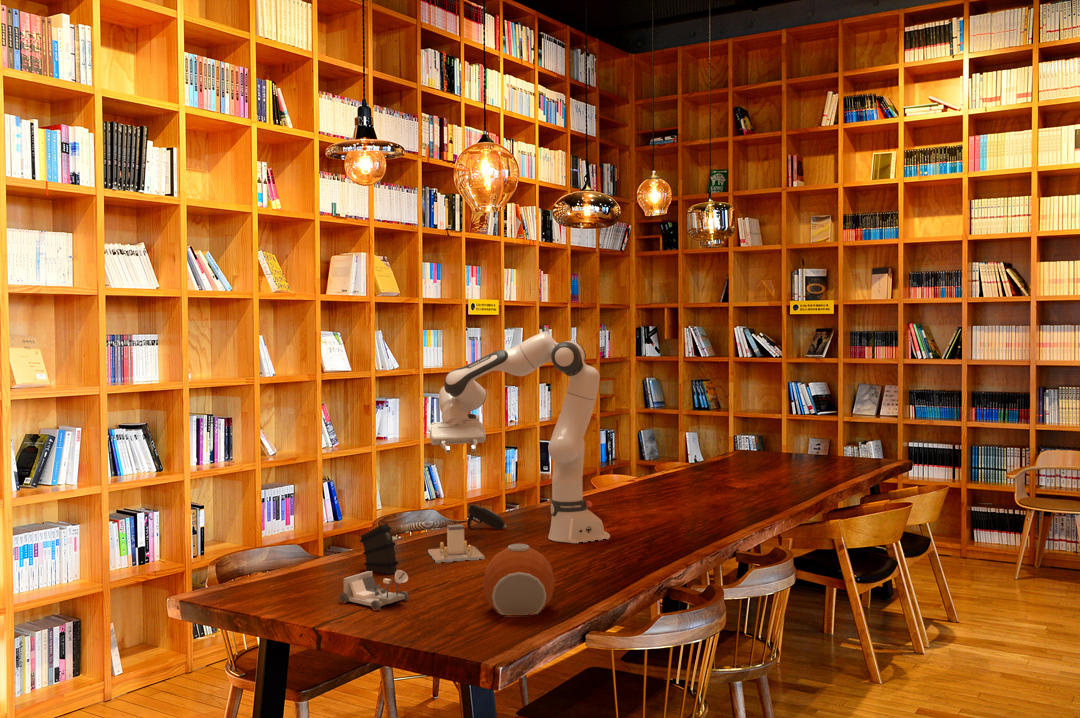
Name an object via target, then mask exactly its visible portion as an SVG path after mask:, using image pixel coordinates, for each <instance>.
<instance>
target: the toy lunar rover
mask: <svg viewBox="0 0 1080 718" xmlns="http://www.w3.org/2000/svg"><path fill="white" fill-rule="evenodd" d="M408 580H409V576H408V574H407V572H405V571H404V570H401V569H396V573H394V581H395V584H396V585H395V586H396V587H395V589H396V592H389V584H392V583H393V580H392V579H391V578H383V579H382V582H383V584H386V588H381V585H380V584H376V581H375V579H374V576H373V571H369V570H366V571H364V572H361V573H358V574H354V575H350V576H347V577H343V593H340V594H339V597H338V598H339V602H340V601H342V602H348V603H349V602H351V603H355V604H361V605H364V606H369V607H370V608H373V609H377V610H379V609H380V610H381V607H382V606H385V605H389V604H393V603H395V602H399V601H401V600H405V601H404V602H408V601H407V600H409V598H410V597H409V594H408V592H407V591H406V590H402V591H400V592H399V587H398V586H399V585H398V584H403V583H406V582H408ZM380 610H379V611H380Z"/></svg>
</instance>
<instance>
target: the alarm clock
mask: <svg viewBox="0 0 1080 718" xmlns="http://www.w3.org/2000/svg"><path fill="white" fill-rule="evenodd" d="M553 571H554V570H553V568H552V565H551V564H550V562H549V561H548V560H547V558H546V557H545V556H544V555H543V554H542V553H540V552H539V551H538V550H536V549H534V548H532V547H530V546H529V545H528V544H526V543H512V544H509V545H508V546H507V547H505V548H504V549H502V550H501V551H500V552H498V553H496V554H495V555H494V556H493V557H492V559H491V560H490V562H488V564H487V565H486V568H485V571H484V575H483V576H484V577H483V581H482V585H483V590H484V594H485V597H486V598H485V599H486V601H487V602H488V604H489V605H490V606H491V607H492V608H493V610H494V611H495V612H496V613H497V614H498V613H499V614H498V615H500V614H501V615H500V616H502V615H528V614H537V615H539V614H538V613H539V612H541V611H542V610H544V609H546V606H547V605H548V604H549V603H550V602H551V600H552V598H553V593H554V590H555V584H556V580H555V576H554V572H553ZM542 612H543V611H542ZM542 612H541V613H542Z"/></svg>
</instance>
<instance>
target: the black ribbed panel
mask: <svg viewBox="0 0 1080 718" xmlns="http://www.w3.org/2000/svg"><path fill="white" fill-rule="evenodd" d="M391 530H392V527H391V526H389V523H384V524H381V525H379V526H377V527H375V528H373V529H371V530H369V531H367V532H365V533H363V534H362V535H361V534H360V540H359V543H360V544H361V543H362V545H363V549H364V551H363V552H362V554H363V555H365V562H364V566H365V570H366V571H369V570H371V571H372V572H374V571H377V572H376V573H379V572H381V573H380V574H384V573H386V574H385V575H388V574H391V575H393V574H392V573H394V574H395V573H396V571H397V566H398V565H399V562H398V560H396V551H395V546H396V542H395V541H394V540H393V535H392V532H391Z"/></svg>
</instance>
